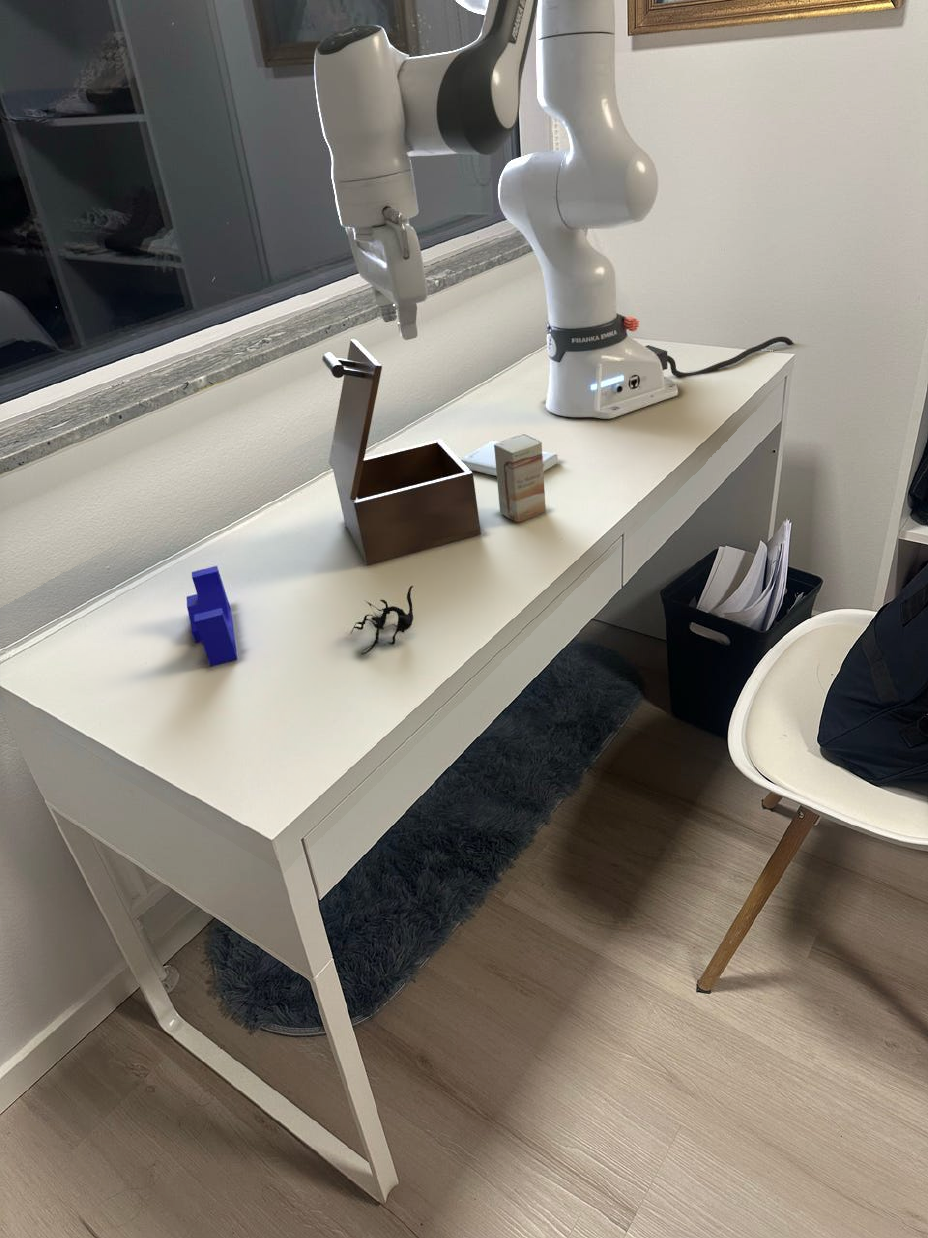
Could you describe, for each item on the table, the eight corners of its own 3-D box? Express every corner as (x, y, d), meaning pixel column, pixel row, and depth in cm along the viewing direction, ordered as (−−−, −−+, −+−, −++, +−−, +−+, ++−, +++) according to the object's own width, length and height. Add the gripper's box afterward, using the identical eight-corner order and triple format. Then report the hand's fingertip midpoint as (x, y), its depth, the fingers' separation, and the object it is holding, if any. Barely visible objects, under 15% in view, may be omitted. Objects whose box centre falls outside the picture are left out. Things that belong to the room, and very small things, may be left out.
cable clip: (193, 617, 108) (178, 575, 105) (230, 608, 109) (216, 565, 106) (197, 670, 98) (180, 625, 95) (237, 659, 99) (222, 614, 96)
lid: (356, 340, 113) (319, 333, 111) (382, 366, 102) (341, 359, 100) (334, 463, 120) (299, 458, 118) (356, 500, 109) (317, 496, 107)
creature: (347, 665, 97) (413, 651, 94) (327, 625, 94) (394, 610, 92) (366, 625, 103) (428, 611, 101) (347, 587, 101) (410, 572, 98)
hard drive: (459, 459, 135) (523, 473, 127) (493, 439, 140) (557, 451, 132) (460, 469, 136) (524, 483, 128) (494, 449, 140) (558, 462, 133)
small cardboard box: (517, 524, 118) (510, 453, 112) (499, 513, 121) (491, 444, 116) (549, 511, 120) (543, 440, 114) (530, 501, 123) (523, 432, 118)
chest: (449, 496, 128) (441, 438, 123) (481, 534, 117) (473, 472, 112) (345, 523, 125) (332, 466, 120) (367, 565, 113) (353, 503, 109)
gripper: (430, 207, 90) (449, 343, 98) (383, 189, 107) (402, 306, 114) (370, 219, 89) (395, 355, 96) (332, 199, 106) (355, 316, 113)
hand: (398, 328), depth 106 cm, fingers open, 8 cm apart
